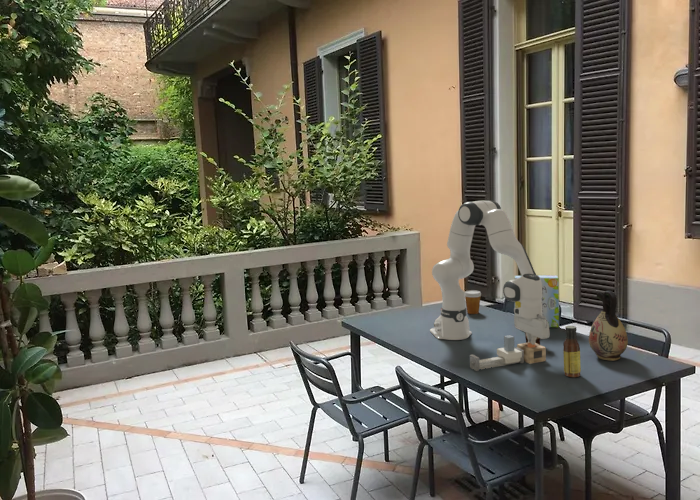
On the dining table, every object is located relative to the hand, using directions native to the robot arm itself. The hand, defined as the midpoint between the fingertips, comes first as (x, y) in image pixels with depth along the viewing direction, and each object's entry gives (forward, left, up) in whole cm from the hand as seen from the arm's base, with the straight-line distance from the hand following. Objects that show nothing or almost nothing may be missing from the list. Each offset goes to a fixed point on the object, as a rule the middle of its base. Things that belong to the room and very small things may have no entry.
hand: (531, 343), depth 261 cm
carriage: (0, -11, -6) cm, 13 cm away
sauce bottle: (+23, +2, -7) cm, 24 cm away
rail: (0, -17, -7) cm, 18 cm away
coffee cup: (-16, +12, -7) cm, 22 cm away
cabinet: (0, 0, -7) cm, 7 cm away
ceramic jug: (+13, +29, -7) cm, 33 cm away
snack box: (-43, +33, -7) cm, 55 cm away
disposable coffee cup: (-80, +18, -7) cm, 83 cm away
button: (0, 0, -5) cm, 5 cm away
